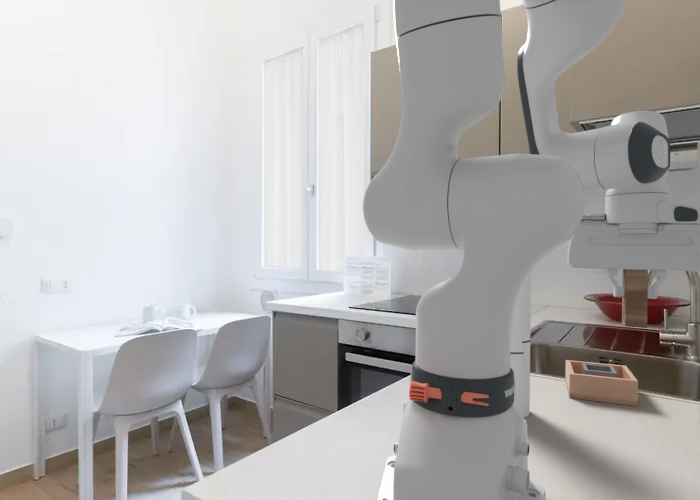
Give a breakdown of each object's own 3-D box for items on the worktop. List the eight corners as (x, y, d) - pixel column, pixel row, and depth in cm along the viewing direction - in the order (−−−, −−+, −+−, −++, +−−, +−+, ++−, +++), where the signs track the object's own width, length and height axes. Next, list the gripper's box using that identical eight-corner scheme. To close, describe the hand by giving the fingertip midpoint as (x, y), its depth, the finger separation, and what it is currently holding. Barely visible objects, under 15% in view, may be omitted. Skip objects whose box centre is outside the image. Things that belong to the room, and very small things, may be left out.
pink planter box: (637, 406, 79) (638, 379, 78) (569, 397, 83) (569, 372, 83) (625, 387, 89) (626, 364, 89) (565, 381, 93) (565, 358, 93)
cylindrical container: (538, 413, 75) (540, 267, 75) (511, 421, 71) (512, 268, 71) (504, 400, 81) (505, 265, 81) (477, 407, 77) (478, 266, 77)
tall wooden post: (647, 327, 70) (648, 253, 70) (625, 326, 71) (626, 252, 71) (642, 324, 73) (643, 253, 73) (621, 323, 74) (622, 252, 74)
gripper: (567, 213, 73) (566, 296, 73) (719, 210, 65) (718, 303, 65) (564, 216, 79) (563, 292, 79) (704, 214, 71) (703, 299, 71)
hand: (634, 297), depth 72 cm, fingers closed on tall wooden post, 3 cm apart
